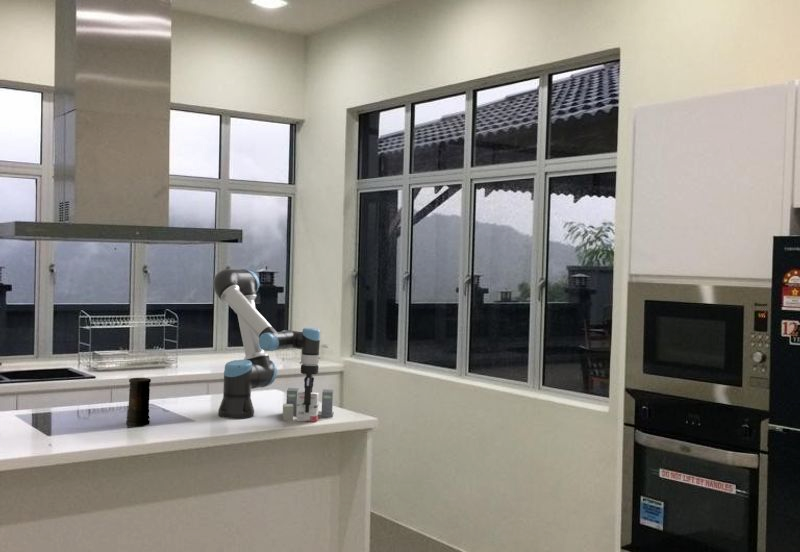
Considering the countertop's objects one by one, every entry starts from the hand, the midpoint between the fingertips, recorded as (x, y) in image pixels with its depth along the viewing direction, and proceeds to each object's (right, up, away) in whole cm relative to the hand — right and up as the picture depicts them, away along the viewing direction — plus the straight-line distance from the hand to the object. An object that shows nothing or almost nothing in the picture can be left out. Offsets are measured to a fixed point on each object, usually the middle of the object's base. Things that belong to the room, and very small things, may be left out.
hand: (307, 418), depth 340 cm
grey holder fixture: (0, -1, +11) cm, 12 cm away
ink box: (0, -1, 0) cm, 1 cm away
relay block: (-9, -1, +1) cm, 9 cm away
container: (-65, +1, -22) cm, 69 cm away
